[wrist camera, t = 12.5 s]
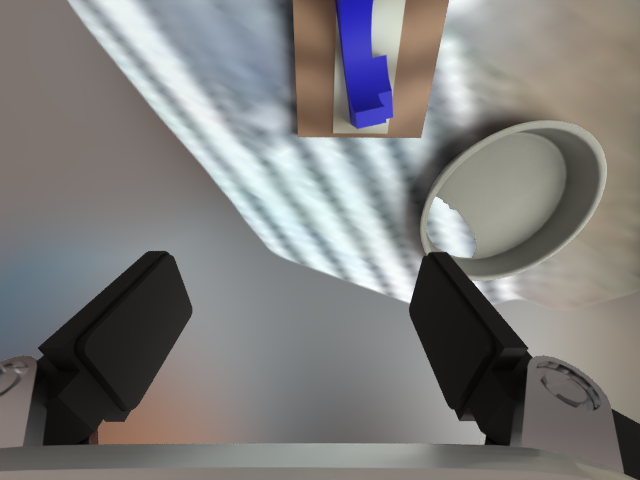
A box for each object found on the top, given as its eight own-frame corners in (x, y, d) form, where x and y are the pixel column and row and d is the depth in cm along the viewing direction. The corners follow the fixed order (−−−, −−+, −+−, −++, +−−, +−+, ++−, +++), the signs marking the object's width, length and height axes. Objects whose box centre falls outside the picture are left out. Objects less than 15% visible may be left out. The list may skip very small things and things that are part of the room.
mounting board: (293, -34, 25) (290, -45, 23) (447, -32, 25) (458, -43, 23) (299, 135, 33) (297, 137, 31) (415, 135, 33) (421, 137, 31)
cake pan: (452, 100, 31) (471, 100, 27) (616, 136, 33) (656, 141, 29) (390, 255, 43) (397, 271, 39) (514, 274, 45) (532, 290, 42)
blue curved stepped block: (386, 116, 30) (401, 119, 24) (350, 124, 30) (357, 129, 25) (378, -18, 24) (395, -51, 18) (334, -5, 24) (338, -34, 19)
